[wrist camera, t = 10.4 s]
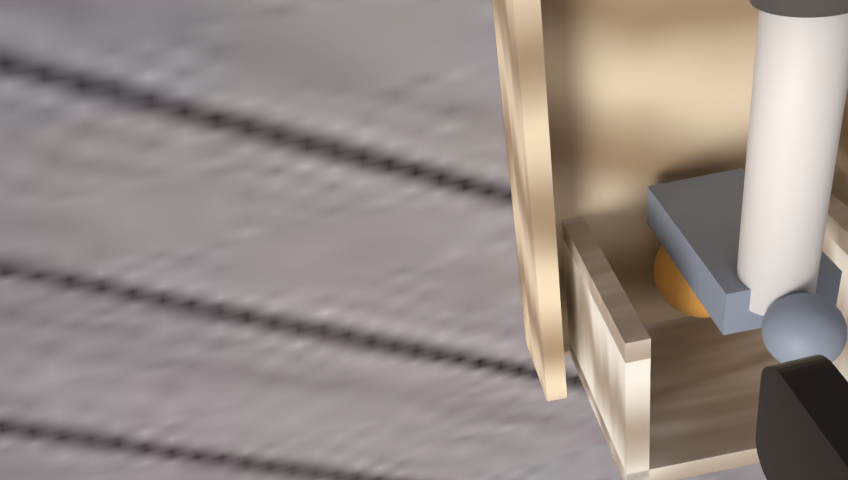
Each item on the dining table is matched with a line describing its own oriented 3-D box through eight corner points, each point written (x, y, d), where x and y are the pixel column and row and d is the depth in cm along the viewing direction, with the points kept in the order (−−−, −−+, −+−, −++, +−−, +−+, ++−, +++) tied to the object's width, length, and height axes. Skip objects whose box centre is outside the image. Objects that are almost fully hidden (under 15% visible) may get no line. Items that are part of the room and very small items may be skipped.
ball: (654, 328, 40) (634, 241, 40) (741, 311, 40) (719, 224, 41) (682, 323, 35) (658, 226, 36) (780, 303, 36) (754, 207, 36)
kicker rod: (650, -214, 28) (826, -178, 18) (775, -236, 28) (1013, -212, 19) (647, 230, 38) (758, 397, 29) (738, 212, 38) (879, 373, 29)
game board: (433, -586, 24) (509, -760, 15) (958, -675, 24) (1328, -895, 15) (526, 343, 44) (581, 498, 35) (811, 286, 44) (936, 426, 36)
